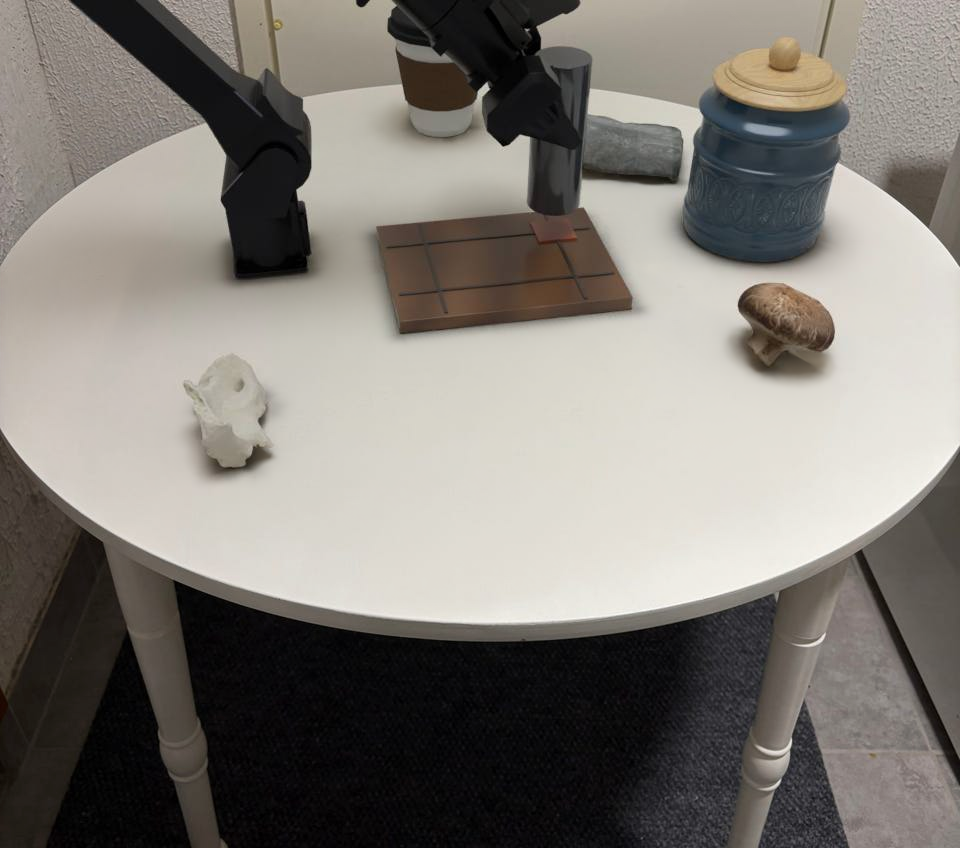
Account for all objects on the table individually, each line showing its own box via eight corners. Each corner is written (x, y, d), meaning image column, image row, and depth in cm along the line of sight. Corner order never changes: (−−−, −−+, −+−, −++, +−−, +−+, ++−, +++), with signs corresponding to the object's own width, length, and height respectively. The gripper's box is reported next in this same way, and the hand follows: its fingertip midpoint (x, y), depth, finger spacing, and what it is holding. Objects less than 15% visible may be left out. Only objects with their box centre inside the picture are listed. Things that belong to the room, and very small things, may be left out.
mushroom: (747, 355, 79) (786, 278, 78) (700, 334, 86) (736, 264, 85) (826, 393, 82) (866, 319, 81) (775, 370, 89) (811, 302, 88)
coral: (260, 379, 82) (252, 332, 79) (283, 463, 75) (275, 414, 72) (187, 392, 81) (176, 344, 78) (203, 478, 74) (192, 429, 71)
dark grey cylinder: (573, 219, 93) (586, 71, 84) (521, 211, 94) (527, 64, 84) (584, 194, 96) (597, 49, 87) (533, 187, 97) (541, 43, 88)
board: (400, 333, 87) (399, 319, 86) (376, 237, 98) (375, 224, 97) (631, 309, 90) (633, 295, 89) (583, 218, 101) (584, 205, 100)
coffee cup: (403, 101, 120) (398, -10, 112) (497, 108, 119) (499, -3, 111) (382, 143, 112) (374, 27, 104) (482, 151, 111) (483, 34, 103)
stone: (529, 171, 107) (673, 201, 107) (536, 136, 104) (684, 167, 104) (541, 116, 114) (675, 144, 114) (548, 81, 111) (686, 111, 111)
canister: (694, 266, 95) (727, 69, 82) (669, 197, 104) (696, 11, 92) (835, 264, 95) (889, 68, 83) (798, 195, 104) (842, 10, 92)
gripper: (540, -44, 71) (674, 110, 80) (504, -116, 85) (622, 23, 94) (427, 76, 76) (565, 209, 85) (410, -10, 90) (530, 112, 98)
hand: (573, 132), depth 90 cm, fingers closed on dark grey cylinder, 5 cm apart
